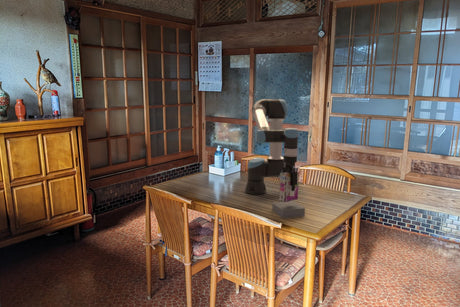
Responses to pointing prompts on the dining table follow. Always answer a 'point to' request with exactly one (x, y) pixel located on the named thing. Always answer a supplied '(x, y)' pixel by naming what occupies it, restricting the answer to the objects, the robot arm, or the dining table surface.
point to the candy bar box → (287, 188)
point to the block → (288, 209)
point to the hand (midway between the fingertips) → (288, 194)
